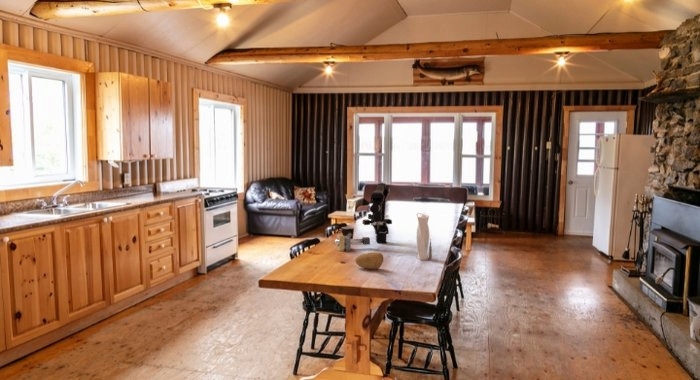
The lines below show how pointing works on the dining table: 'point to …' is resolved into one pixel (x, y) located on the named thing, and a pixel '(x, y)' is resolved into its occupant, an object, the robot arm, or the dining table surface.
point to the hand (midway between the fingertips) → (377, 234)
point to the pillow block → (347, 243)
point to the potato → (370, 260)
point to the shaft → (357, 241)
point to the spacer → (340, 242)
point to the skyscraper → (423, 238)
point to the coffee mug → (347, 231)
